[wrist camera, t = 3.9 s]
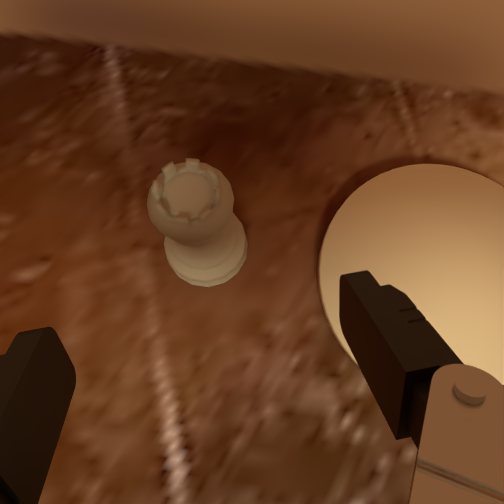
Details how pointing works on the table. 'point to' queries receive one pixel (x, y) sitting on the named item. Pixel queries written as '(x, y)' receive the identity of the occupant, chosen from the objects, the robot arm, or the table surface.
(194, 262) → the rook chess piece
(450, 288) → the cream plate
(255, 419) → the table surface
